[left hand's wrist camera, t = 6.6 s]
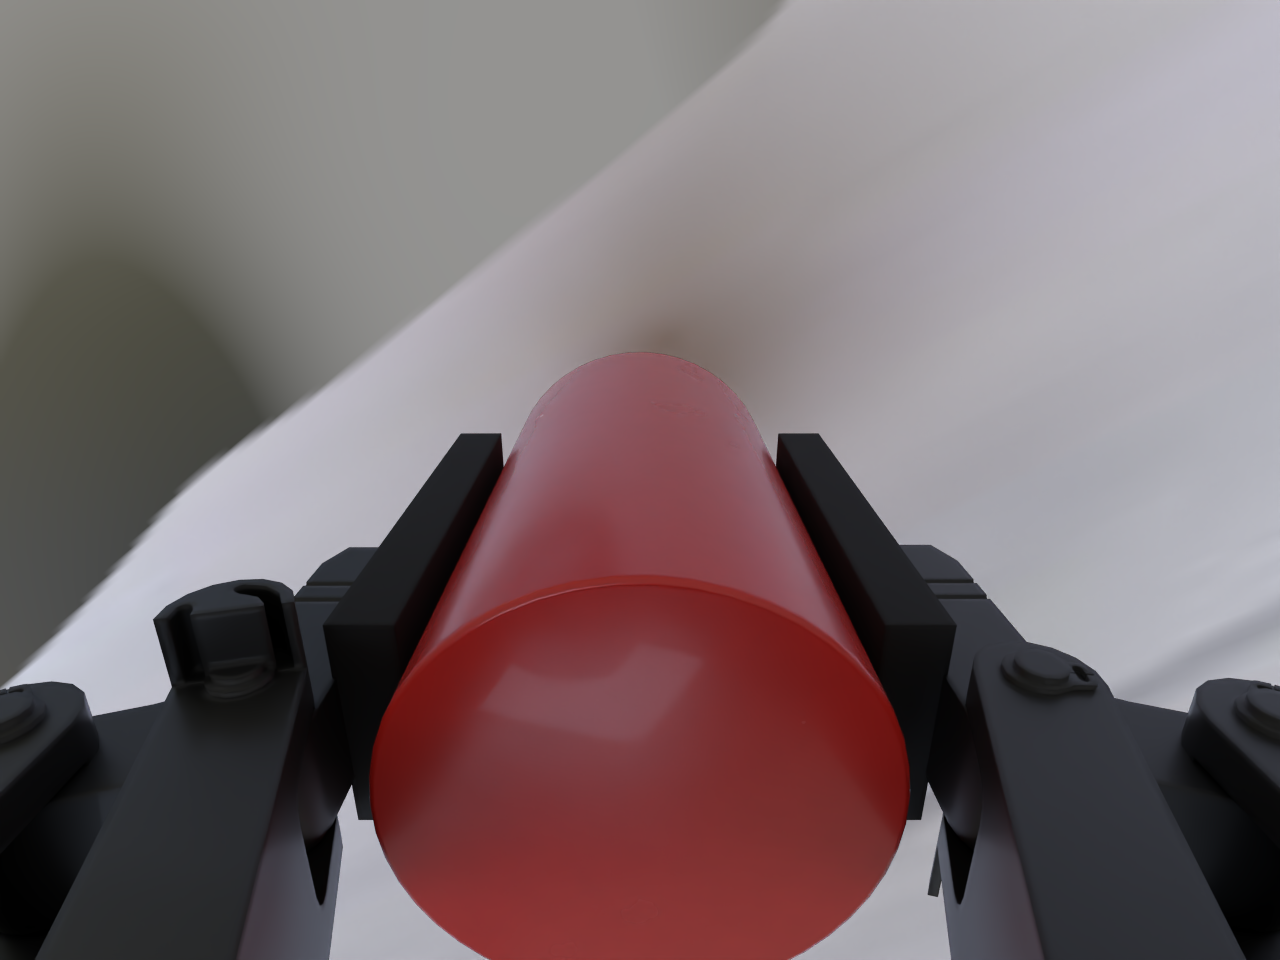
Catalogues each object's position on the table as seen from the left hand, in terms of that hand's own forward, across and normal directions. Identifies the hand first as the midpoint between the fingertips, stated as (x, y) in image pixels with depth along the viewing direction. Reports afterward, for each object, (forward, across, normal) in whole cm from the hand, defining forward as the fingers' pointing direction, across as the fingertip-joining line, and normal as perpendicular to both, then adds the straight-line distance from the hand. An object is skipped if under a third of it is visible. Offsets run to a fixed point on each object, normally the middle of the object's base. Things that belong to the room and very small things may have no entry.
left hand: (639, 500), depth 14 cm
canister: (+1, 0, 0) cm, 1 cm away
